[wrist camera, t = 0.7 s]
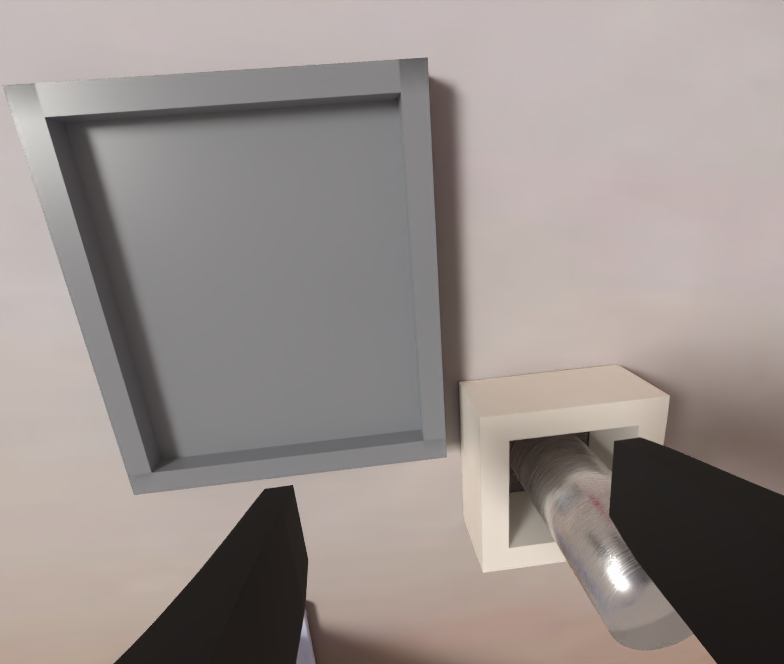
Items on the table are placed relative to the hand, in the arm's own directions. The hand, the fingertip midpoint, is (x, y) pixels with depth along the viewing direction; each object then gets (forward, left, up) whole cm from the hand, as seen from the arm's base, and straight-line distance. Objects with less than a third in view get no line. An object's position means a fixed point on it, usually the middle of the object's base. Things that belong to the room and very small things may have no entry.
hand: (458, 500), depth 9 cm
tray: (+3, +6, -10) cm, 12 cm away
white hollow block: (-6, -6, -10) cm, 13 cm away
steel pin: (-6, -6, -10) cm, 13 cm away
